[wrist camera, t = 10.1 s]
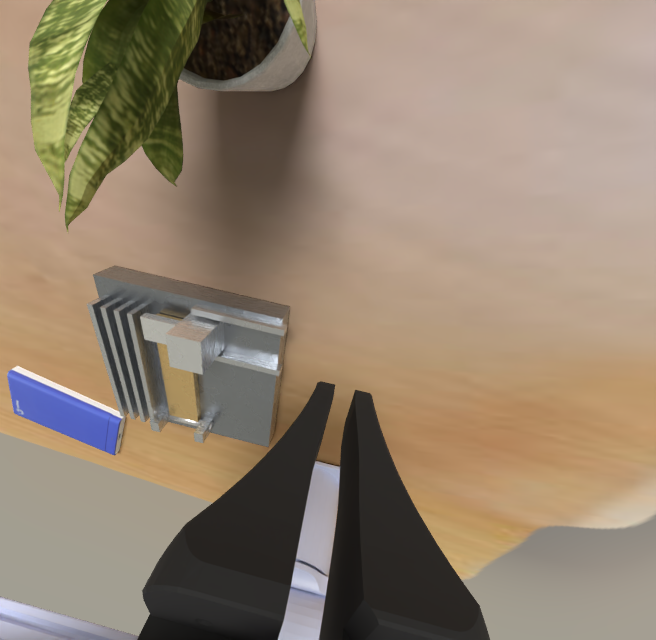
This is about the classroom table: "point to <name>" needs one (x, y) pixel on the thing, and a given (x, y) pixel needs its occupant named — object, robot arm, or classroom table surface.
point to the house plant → (149, 76)
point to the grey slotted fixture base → (222, 375)
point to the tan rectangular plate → (180, 386)
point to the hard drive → (65, 410)
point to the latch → (186, 339)
